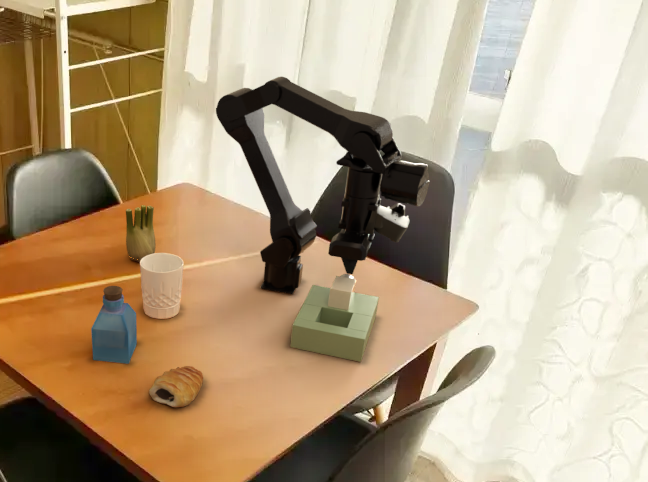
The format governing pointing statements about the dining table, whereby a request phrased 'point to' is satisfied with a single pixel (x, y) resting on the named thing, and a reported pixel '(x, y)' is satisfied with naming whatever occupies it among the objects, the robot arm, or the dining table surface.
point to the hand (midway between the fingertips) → (349, 273)
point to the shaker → (342, 292)
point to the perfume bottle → (114, 328)
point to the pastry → (177, 386)
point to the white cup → (161, 284)
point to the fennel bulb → (140, 233)
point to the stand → (334, 325)
